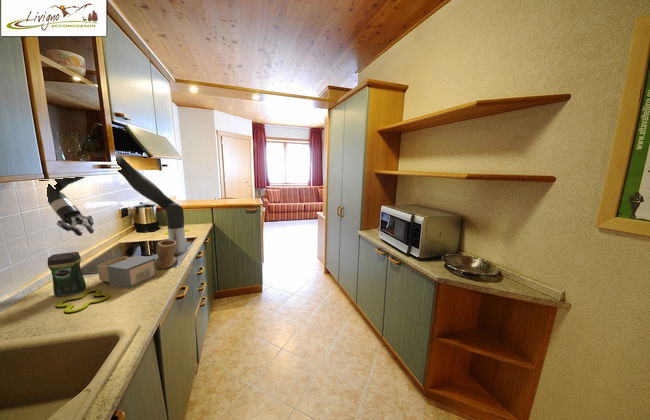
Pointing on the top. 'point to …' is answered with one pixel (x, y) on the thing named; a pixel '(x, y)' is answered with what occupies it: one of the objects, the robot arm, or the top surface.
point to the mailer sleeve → (120, 271)
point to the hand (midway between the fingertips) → (86, 233)
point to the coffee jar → (66, 273)
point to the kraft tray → (135, 273)
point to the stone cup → (166, 254)
